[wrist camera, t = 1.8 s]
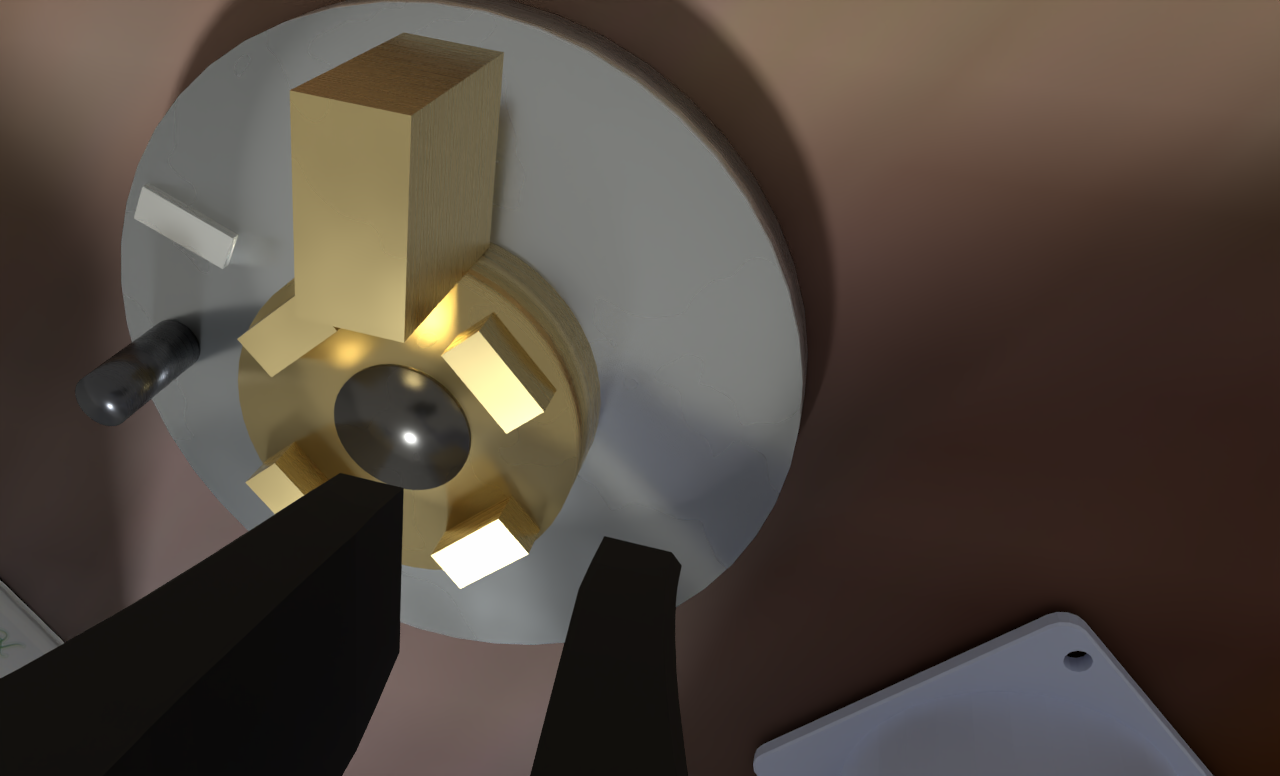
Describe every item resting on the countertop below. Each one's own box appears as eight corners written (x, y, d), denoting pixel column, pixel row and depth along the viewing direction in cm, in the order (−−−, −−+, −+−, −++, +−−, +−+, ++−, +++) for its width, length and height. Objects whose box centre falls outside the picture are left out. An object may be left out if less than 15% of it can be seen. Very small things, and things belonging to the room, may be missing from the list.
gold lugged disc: (766, 350, 18) (736, 474, 15) (448, 563, 22) (368, 699, 19) (452, -16, 16) (338, 36, 13) (163, 285, 20) (21, 383, 17)
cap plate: (954, 416, 20) (962, 530, 17) (478, 689, 26) (421, 809, 23) (453, -196, 17) (353, -189, 14) (44, 279, 23) (-88, 356, 20)
